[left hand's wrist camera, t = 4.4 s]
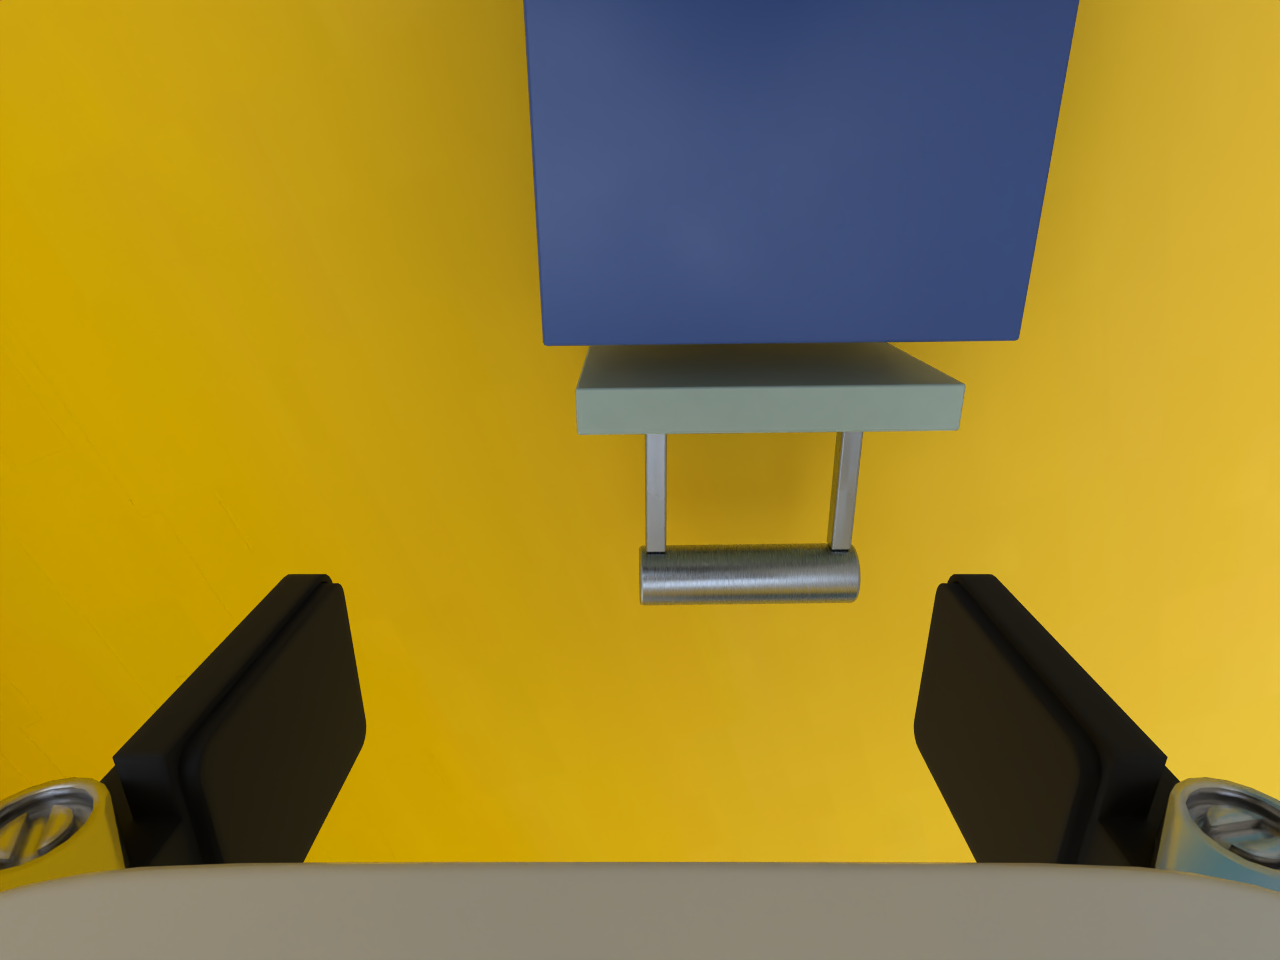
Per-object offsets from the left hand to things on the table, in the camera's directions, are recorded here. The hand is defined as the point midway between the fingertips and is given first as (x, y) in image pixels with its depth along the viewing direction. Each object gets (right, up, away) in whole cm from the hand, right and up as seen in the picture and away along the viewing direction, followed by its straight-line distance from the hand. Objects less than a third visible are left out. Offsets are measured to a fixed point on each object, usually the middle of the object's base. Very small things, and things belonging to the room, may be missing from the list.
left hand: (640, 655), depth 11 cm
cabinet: (+3, +15, +10) cm, 19 cm away
